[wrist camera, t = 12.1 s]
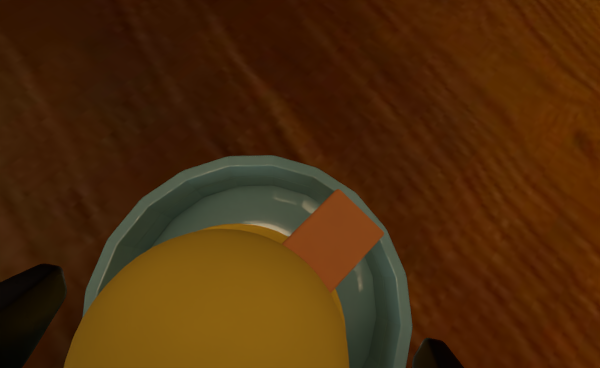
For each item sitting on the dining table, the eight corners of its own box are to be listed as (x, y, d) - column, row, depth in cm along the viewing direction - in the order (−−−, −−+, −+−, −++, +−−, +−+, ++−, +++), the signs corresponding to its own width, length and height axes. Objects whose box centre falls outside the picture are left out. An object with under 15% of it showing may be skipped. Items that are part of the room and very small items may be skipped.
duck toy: (254, 391, 16) (137, 1036, 2) (175, 302, 17) (-248, 423, 3) (344, 290, 17) (585, 349, 4) (268, 213, 18) (248, 37, 5)
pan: (422, 380, 17) (465, 411, 13) (164, 501, 15) (126, 580, 11) (327, 149, 20) (339, 119, 16) (99, 226, 18) (50, 212, 14)
